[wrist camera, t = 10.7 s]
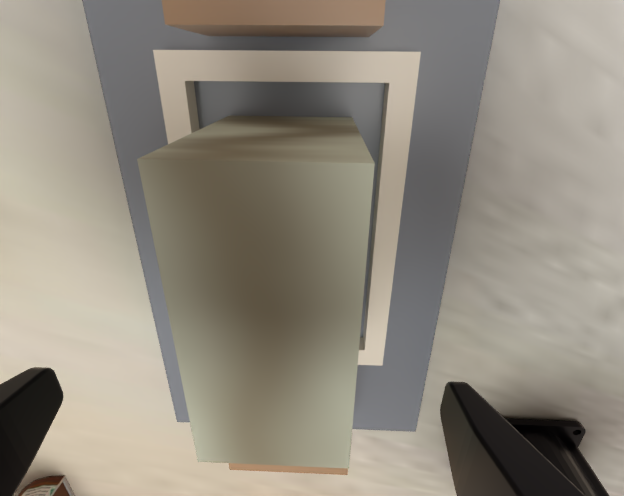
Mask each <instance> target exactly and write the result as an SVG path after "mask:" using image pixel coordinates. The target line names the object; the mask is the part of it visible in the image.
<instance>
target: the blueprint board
mask: <svg viewBox="0 0 624 496" xmlns="http://www.w3.org/2000/svg"><path fill="white" fill-rule="evenodd" d="M82 1H83V5H84V10H85V14H86V19H87V23H88V28H89V32H90V37H91V41H92V45H93V50H94V54H95V59H96V63H97V68H98V72H99V77H100V81H101V85H102V90H103V94H104V99H105V103H106V108H107V112H108V117H109V121H110V125H111V130H112V134H113V139H114V143H115V148H116V152H117V157H118V161H119V165H120V170H121V174H122V179H123V183H124V188H125V192H126V197H127V201H128V205H129V210H130V214H131V219H132V223H133V228H134V232H135V237H136V241H137V245H138V250H139V254H140V259H141V263H142V268H143V272H144V277H145V281H146V285H147V290H148V294H149V299H150V303H151V308H152V312H153V317H154V321H155V325H156V330H157V334H158V339H159V343H160V348H161V352H162V357H163V361H164V365H165V370H166V374H167V379H168V383H169V388H170V392H171V397H172V401H173V405H174V410H175V414H176V419H177V422H190V420H189V415H188V410H187V405H186V400H185V395H184V390H183V385H182V380H181V375H180V370H179V365H178V360H177V355H176V350H175V345H174V340H173V335H172V330H171V325H170V320H169V315H168V310H167V305H166V300H165V295H164V291H163V286H162V281H161V276H160V271H159V266H158V261H157V256H156V251H155V246H154V241H153V236H152V231H151V226H150V221H149V216H148V211H147V206H146V201H145V196H144V191H143V186H142V181H141V176H140V171H139V166H138V161H137V159H138V158H140V157H142V156H145V155H147V154H149V153H151V152H153V151H155V150H157V149H159V148H162V147H164V146H166V145H168V144H170V143H172V142H174V141H176V140H178V139H181V138H183V137H185V136H187V135H189V134H191V133H193V132H195V131H198V130H200V129H202V128H204V127H206V126H208V125H210V124H212V123H215V122H217V121H219V120H221V119H223V118H225V117H227V116H295V117H352V118H353V120H354V122H355V124H356V126H357V128H358V130H359V132H360V134H361V136H362V138H363V140H364V142H365V145H366V147H367V149H368V151H369V153H370V155H371V157H372V159H373V161H374V163H375V166H374V178H373V190H372V201H371V213H370V225H369V237H368V249H367V261H366V272H365V284H364V296H363V308H362V320H361V332H360V343H359V355H358V367H357V379H356V391H355V403H354V414H353V426H352V429H366V430H390V431H416V426H417V421H418V416H419V411H420V406H421V401H422V396H423V391H424V386H425V380H426V375H427V370H428V365H429V360H430V355H431V350H432V345H433V340H434V335H435V329H436V324H437V319H438V314H439V309H440V304H441V299H442V294H443V289H444V284H445V278H446V273H447V268H448V263H449V258H450V253H451V248H452V243H453V238H454V233H455V227H456V222H457V217H458V212H459V207H460V202H461V197H462V192H463V187H464V182H465V176H466V171H467V166H468V161H469V156H470V151H471V146H472V141H473V136H474V131H475V125H476V120H477V115H478V110H479V105H480V100H481V95H482V90H483V85H484V80H485V74H486V69H487V64H488V59H489V54H490V49H491V44H492V39H493V34H494V29H495V23H496V18H497V13H498V8H499V3H500V0H82ZM229 468H230V470H250V471H272V472H294V473H317V474H339V475H347V472H348V468H326V467H303V466H281V465H259V464H237V463H229Z"/></svg>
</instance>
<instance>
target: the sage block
mask: <svg viewBox="0 0 624 496" xmlns="http://www.w3.org/2000/svg"><path fill="white" fill-rule="evenodd" d="M137 161H138V166H139V171H140V176H141V181H142V186H143V191H144V196H145V201H146V206H147V211H148V216H149V221H150V226H151V231H152V236H153V241H154V246H155V251H156V256H157V261H158V266H159V271H160V276H161V281H162V286H163V291H164V295H165V300H166V305H167V310H168V315H169V320H170V325H171V330H172V335H173V340H174V345H175V350H176V355H177V360H178V365H179V370H180V375H181V380H182V385H183V390H184V395H185V400H186V405H187V410H188V415H189V420H190V425H191V430H192V435H193V440H194V445H195V450H196V455H197V460H198V462H215V463H237V464H259V465H281V466H303V467H326V468H348V469H349V462H350V450H351V438H352V426H353V414H354V403H355V391H356V379H357V367H358V355H359V343H360V332H361V320H362V308H363V296H364V284H365V272H366V261H367V249H368V237H369V225H370V213H371V201H372V190H373V178H374V166H375V163H374V161H373V159H372V157H371V155H370V153H369V151H368V149H367V147H366V145H365V142H364V140H363V138H362V136H361V134H360V132H359V130H358V128H357V126H356V124H355V122H354V120H353V118H352V117H295V116H227V117H225V118H223V119H221V120H219V121H217V122H215V123H212V124H210V125H208V126H206V127H204V128H202V129H200V130H198V131H195V132H193V133H191V134H189V135H187V136H185V137H183V138H181V139H178V140H176V141H174V142H172V143H170V144H168V145H166V146H164V147H162V148H159V149H157V150H155V151H153V152H151V153H149V154H147V155H145V156H142V157H140V158H138V159H137Z"/></svg>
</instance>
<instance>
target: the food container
mask: <svg viewBox="0 0 624 496" xmlns="http://www.w3.org/2000/svg"><path fill="white" fill-rule="evenodd" d="M18 496H75V495H74V493H73V491H72V489H71V487H70V485H69V483H68V481H67V479H66V477H65V476H49V477H45V478H41V479H37V480H35V481H33V482H32V483H30V484H29V485H27V486H26V487H25V488H24V489H23V490H22V492H21V493H20V494H19V495H18Z"/></svg>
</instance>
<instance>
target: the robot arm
mask: <svg viewBox="0 0 624 496" xmlns="http://www.w3.org/2000/svg"><path fill="white" fill-rule="evenodd" d="M62 401H63V391H62V389H61V386H60V384H59V381H58V379H57V377H56V374H55V372H54V370H52V369H51V368H40V367H34V368H30V369H28V370H26V371H24V372H22V373H21V374H19V375H17V376H15V377H13V378H11V379H10V380H8V381H6V382H4V383H2V384H0V496H13V494H14V493H15V491H16V490H17V488H18V486H19V485H20V483H21V481H22V480H23V478H24V476H25V474H26V473H27V471H28V469H29V467H30V465H31V463H32V462H33V460H34V458H35V456H36V454H37V452H38V450H39V448H40V446H41V444H42V442H43V440H44V438H45V436H46V434H47V432H48V430H49V428H50V426H51V424H52V422H53V420H54V418H55V416H56V414H57V412H58V410H59V408H60V406H61V404H62ZM440 414H441V421H442V426H443V431H444V436H445V441H446V446H447V451H448V456H449V461H450V466H451V471H452V476H453V481H454V486H455V490H456V494H457V496H609V494H608V493H607V491H606V490H605V488H604V487H603V485H602V484H601V482H600V481H599V479H598V478H597V476H596V475H595V473H594V472H593V470H592V469H591V467H590V465H589V464H588V462H587V461H586V459H585V458H584V456H583V455H582V453H581V452H580V450H579V449H578V446H579V444H580V442H581V440H582V438H583V436H584V434H585V429H584V427H583V426H582V424H581V423H579V422H576V421H551V420H526V419H504V418H503V417H502V416H501V415H500V414H499V413H498V412H497V411H496V410H495V409H494V408H493V407H492V406H491V405H490V404H489V403H488V402H487V401H486V400H485V399H484V398H482V397H481V396H480V395H479V394H478V393H477V392H476V391H475V390H474V389H473V388H472V387H471V386H470V385H469V384H467V383H465V382H448V383H447V384H446V386H445V391H444V395H443V399H442V403H441V409H440Z"/></svg>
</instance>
